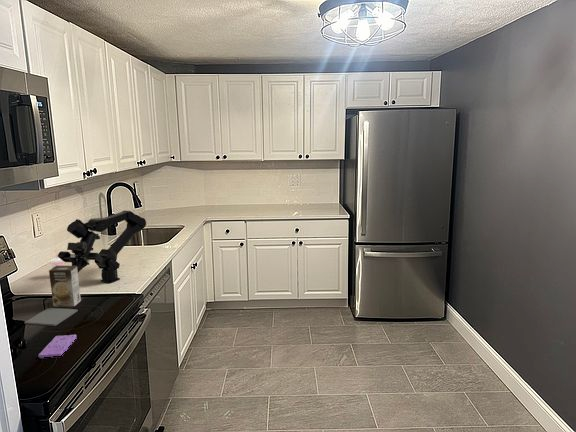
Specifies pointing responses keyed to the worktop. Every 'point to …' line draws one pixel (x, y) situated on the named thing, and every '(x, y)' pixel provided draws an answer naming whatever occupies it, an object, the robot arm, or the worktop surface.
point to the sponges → (57, 346)
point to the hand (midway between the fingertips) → (73, 275)
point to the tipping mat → (51, 316)
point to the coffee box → (65, 286)
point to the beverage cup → (57, 261)
